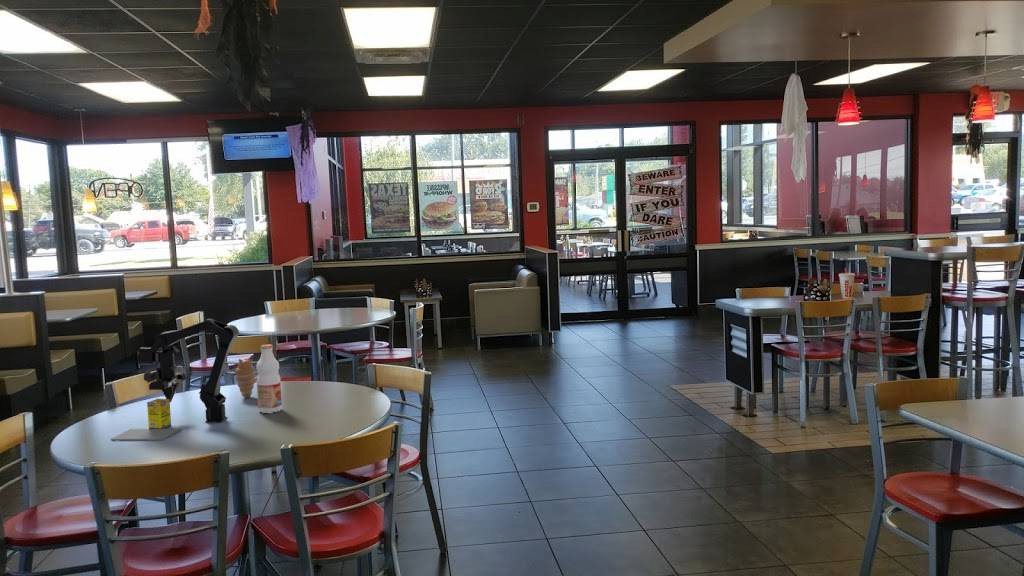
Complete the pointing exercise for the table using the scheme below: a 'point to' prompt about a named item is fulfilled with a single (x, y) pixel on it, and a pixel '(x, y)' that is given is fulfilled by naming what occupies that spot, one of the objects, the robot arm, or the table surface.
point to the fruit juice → (268, 381)
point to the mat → (146, 434)
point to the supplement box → (159, 414)
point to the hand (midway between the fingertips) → (169, 402)
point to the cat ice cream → (245, 377)
